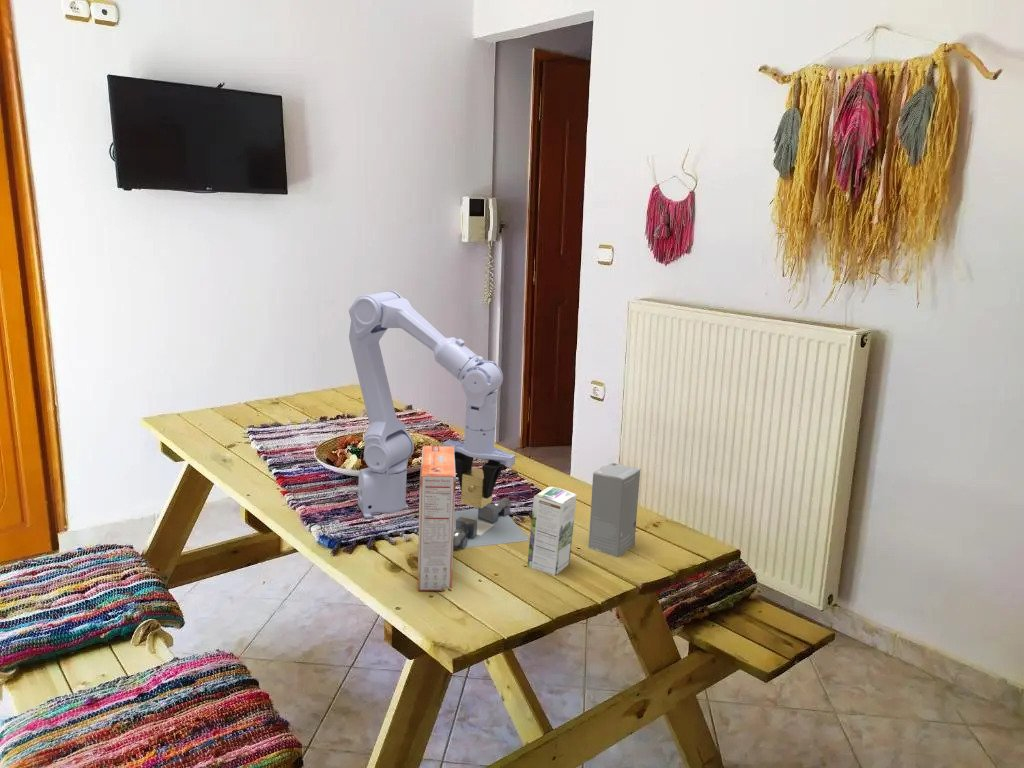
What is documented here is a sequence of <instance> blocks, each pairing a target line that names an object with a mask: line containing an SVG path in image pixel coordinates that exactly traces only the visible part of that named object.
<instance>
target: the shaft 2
mask: <svg viewBox="0 0 1024 768" xmlns="http://www.w3.org/2000/svg"><path fill="white" fill-rule="evenodd" d="M511 506H512V502H511V499H510V498H508V497H503V498H502V499H499V500H498V501H495V502H493V503H492V502H490V503H489V504H487V505H486V506H484V507H483V508H477V509H478V519H480V520H483V521H486V522H489V523H491V524H493V523H495V522H497V521H498V515H500V516H503V517H505V516H506V515H510V514H511V513H510V512H511Z"/></svg>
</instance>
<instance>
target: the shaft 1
mask: <svg viewBox="0 0 1024 768" xmlns="http://www.w3.org/2000/svg"><path fill="white" fill-rule="evenodd" d="M476 536H477V520H473V519H469V518H464V517H459V518H458V519H457V520H456V531H455V532H454V536H453V548H459V549H460V550H464V549H466V548H465V546H466V545H467V538H468V539H472V540H473V539H474V538H475V537H476Z"/></svg>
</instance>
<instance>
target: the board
mask: <svg viewBox="0 0 1024 768" xmlns="http://www.w3.org/2000/svg"><path fill="white" fill-rule="evenodd" d="M459 517H464V518H469V519H473V520H477V536H476V537H475V538H474V539H473V540H472V539H468V538H467V545H466V546H465V548H464V549H469V548H474V547H475V548H477V547H485V546H493V545H503V544H513V543H519V542H520V543H521V542H528V541H529V542H530V537H528V535H526V533H525V532H524V531H523V530H522V529H521V528H520V526H519V525H518V524H517V523H516V522H515V521H514V519H512V517H511V516H510V514H508V515H506V516H505V517H503V516H500V515H498V521H497V522H495V523H493V524H491V523H489V522H486V521H483V520H480V519H478V508H475V509H472V508H471V509H464V510H462V509H461V510H454V532H455V531H456V520H457V519H458V518H459ZM458 549H459V548H453V550H458Z"/></svg>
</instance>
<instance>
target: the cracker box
mask: <svg viewBox="0 0 1024 768" xmlns="http://www.w3.org/2000/svg"><path fill="white" fill-rule="evenodd" d="M421 452H422V453H421V461H420V472H419V473H420V474H419V492H418V493H419V496H418V543H417V545H418V548H417V551H418V552H417V553H418V556H417V558H418V559H417V563H418V564H417V568H418V569H417V581H418V582H417V585H418V587H417V588H418V591H419V592H422V591H423V592H430V591H431V592H437V591H438V592H445V591H446V590H445V589H451V588H453V587H452V586H453V584H452V583H453V563H454V562H453V559H454V558H453V555H454V549H453V536H454V511H455V509H456V508H455V504H456V503H455V502H456V485H457V477H456V476H457V473H456V470H455V455H454V447H449V446H448V447H443V446H438V445H423V446H422V451H421Z"/></svg>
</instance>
